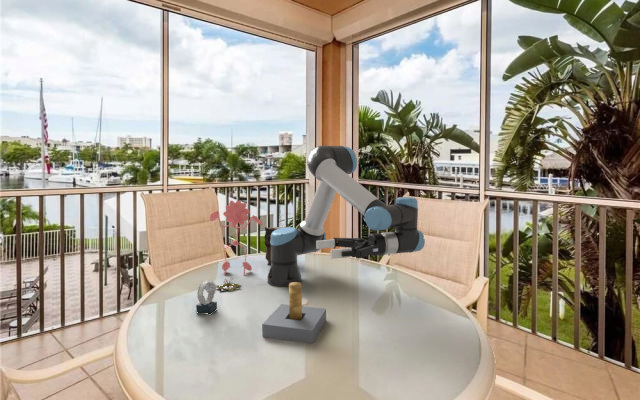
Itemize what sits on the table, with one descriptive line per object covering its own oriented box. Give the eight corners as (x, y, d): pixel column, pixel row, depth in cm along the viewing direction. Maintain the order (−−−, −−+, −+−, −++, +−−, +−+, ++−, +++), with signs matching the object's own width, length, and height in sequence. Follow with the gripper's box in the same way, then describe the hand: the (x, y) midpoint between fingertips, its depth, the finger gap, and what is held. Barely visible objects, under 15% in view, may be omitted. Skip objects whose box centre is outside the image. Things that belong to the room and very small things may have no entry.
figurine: (261, 276, 166) (259, 201, 164) (207, 275, 168) (204, 201, 165) (268, 267, 182) (266, 198, 179) (218, 266, 183) (216, 199, 180)
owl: (295, 264, 185) (294, 226, 183) (273, 269, 178) (272, 229, 176) (283, 259, 195) (282, 223, 193) (262, 263, 188) (261, 225, 186)
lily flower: (212, 286, 155) (211, 276, 154) (240, 282, 160) (239, 272, 159) (216, 296, 144) (215, 285, 143) (245, 291, 149) (245, 280, 148)
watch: (219, 307, 131) (218, 278, 130) (207, 317, 123) (206, 286, 122) (206, 306, 132) (204, 277, 131) (193, 315, 124) (192, 284, 123)
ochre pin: (287, 328, 113) (287, 285, 112) (292, 323, 117) (291, 281, 115) (299, 330, 112) (299, 286, 111) (303, 324, 116) (303, 282, 114)
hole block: (262, 336, 109) (262, 324, 109) (281, 315, 124) (281, 303, 124) (312, 343, 105) (312, 330, 104) (326, 320, 120) (326, 308, 120)
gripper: (401, 264, 111) (337, 271, 104) (365, 246, 134) (311, 251, 128) (401, 240, 110) (337, 246, 103) (365, 227, 134) (311, 231, 127)
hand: (323, 249), depth 115 cm, fingers open, 13 cm apart
